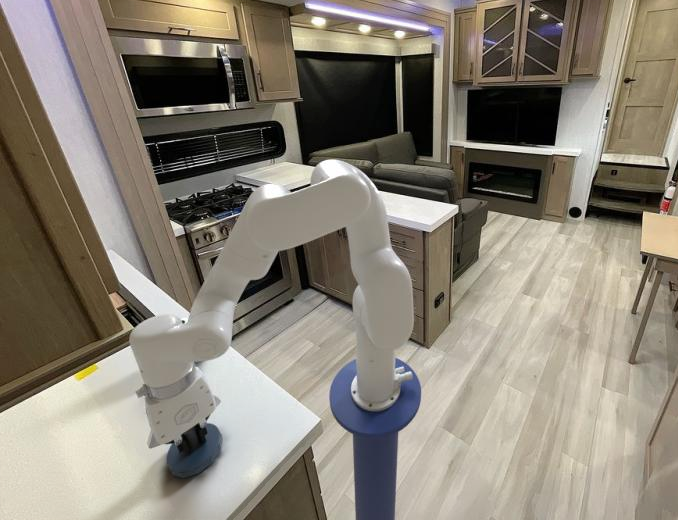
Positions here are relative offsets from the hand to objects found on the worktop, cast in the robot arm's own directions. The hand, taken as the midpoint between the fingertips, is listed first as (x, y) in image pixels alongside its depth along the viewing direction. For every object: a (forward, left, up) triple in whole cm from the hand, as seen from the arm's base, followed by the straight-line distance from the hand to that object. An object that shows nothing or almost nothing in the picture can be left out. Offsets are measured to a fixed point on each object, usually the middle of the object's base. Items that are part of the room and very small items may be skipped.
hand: (193, 443), depth 65 cm
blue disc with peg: (0, 0, -3) cm, 3 cm away
